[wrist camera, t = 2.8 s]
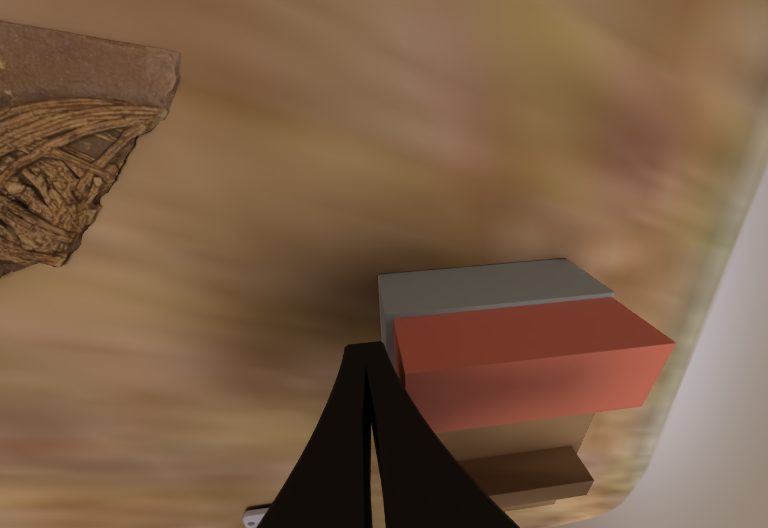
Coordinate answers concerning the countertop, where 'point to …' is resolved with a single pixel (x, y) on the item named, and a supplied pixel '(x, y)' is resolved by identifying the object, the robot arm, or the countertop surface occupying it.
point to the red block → (527, 362)
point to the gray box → (480, 290)
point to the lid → (524, 460)
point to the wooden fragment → (69, 132)
